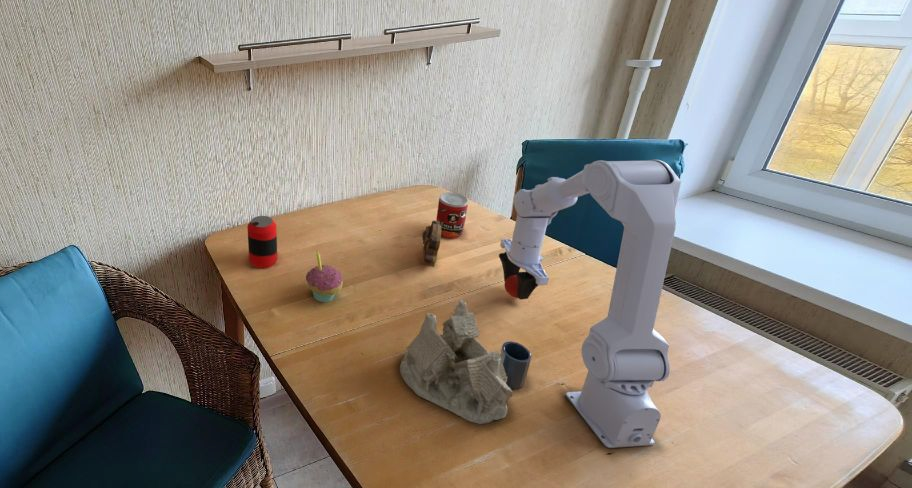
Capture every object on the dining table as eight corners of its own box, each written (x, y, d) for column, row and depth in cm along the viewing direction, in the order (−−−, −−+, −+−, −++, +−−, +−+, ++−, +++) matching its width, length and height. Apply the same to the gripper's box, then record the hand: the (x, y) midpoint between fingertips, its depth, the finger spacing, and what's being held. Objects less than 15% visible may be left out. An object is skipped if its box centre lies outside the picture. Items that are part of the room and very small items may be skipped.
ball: (531, 302, 97) (536, 284, 95) (510, 303, 96) (514, 285, 95) (518, 287, 101) (522, 270, 100) (498, 288, 101) (502, 271, 99)
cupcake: (300, 300, 99) (300, 257, 95) (314, 279, 106) (315, 238, 102) (335, 312, 95) (337, 268, 91) (347, 289, 102) (349, 247, 98)
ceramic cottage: (391, 353, 84) (403, 295, 78) (470, 347, 86) (487, 291, 80) (424, 433, 70) (441, 371, 64) (517, 425, 72) (543, 364, 66)
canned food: (435, 237, 122) (440, 203, 118) (434, 223, 130) (438, 190, 126) (464, 241, 120) (470, 206, 116) (461, 226, 127) (466, 193, 123)
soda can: (243, 258, 115) (241, 220, 111) (266, 248, 119) (264, 211, 115) (260, 272, 109) (258, 232, 105) (282, 261, 114) (282, 222, 109)
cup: (529, 388, 77) (537, 361, 74) (505, 389, 77) (511, 362, 74) (514, 366, 81) (521, 340, 79) (491, 368, 81) (497, 342, 79)
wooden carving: (417, 240, 121) (421, 209, 118) (434, 242, 120) (438, 211, 117) (421, 276, 106) (425, 242, 103) (440, 278, 105) (445, 244, 102)
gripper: (568, 258, 87) (553, 311, 92) (525, 222, 100) (514, 269, 105) (534, 260, 87) (522, 313, 91) (495, 223, 100) (486, 271, 105)
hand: (516, 290), depth 98 cm, fingers closed on ball, 5 cm apart
